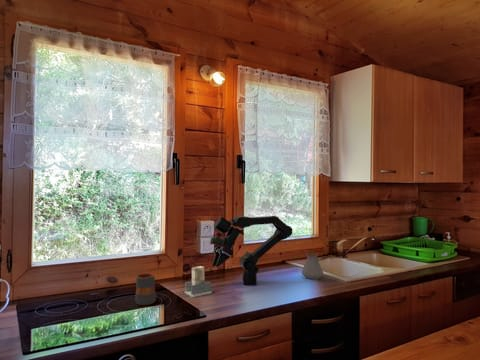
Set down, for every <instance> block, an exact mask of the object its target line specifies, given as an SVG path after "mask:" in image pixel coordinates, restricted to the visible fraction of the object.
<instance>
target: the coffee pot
mask: <svg viewBox="0 0 480 360" xmlns="http://www.w3.org/2000/svg"><path fill="white" fill-rule="evenodd" d="M305 254H306V257H307V258H306V260H305V263H304V265H303V267H302V269H301V275H302V277H304V279H306V280H310V281H311V280H312V281H314V280H316V281H317V280H319V279H320V278H322V277H323V275H324V271H323V269H322V267H321V264H320V262H319V261H321V260H322V261H323V260H326V259H328V258H330V259H331V260H333V259H335V256H334V255H333V254H329V255H326V256H323V257H320V258H318V256H319V253H316V252H306V253H305Z"/></svg>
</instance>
